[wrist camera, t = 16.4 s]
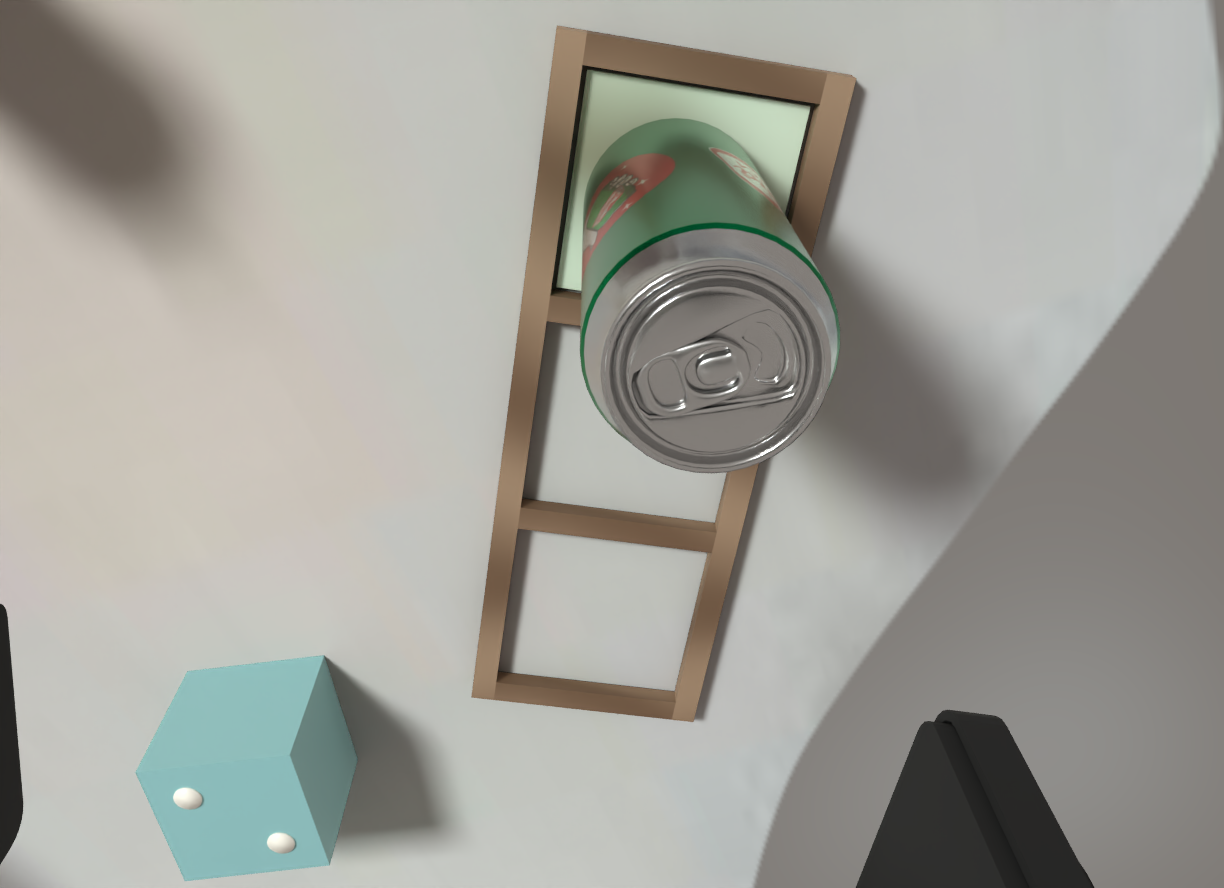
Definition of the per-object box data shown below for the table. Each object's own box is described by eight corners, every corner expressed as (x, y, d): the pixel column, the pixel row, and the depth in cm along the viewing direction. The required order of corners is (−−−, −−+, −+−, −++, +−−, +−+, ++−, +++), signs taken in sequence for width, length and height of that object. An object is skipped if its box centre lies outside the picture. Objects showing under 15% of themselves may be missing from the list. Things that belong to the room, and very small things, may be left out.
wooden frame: (691, 710, 39) (693, 721, 39) (472, 686, 38) (471, 697, 38) (851, 75, 29) (855, 78, 28) (557, 25, 28) (556, 27, 28)
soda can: (779, 258, 31) (878, 448, 20) (615, 311, 32) (628, 521, 21) (733, 88, 29) (818, 201, 18) (558, 148, 29) (540, 291, 19)
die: (358, 757, 40) (329, 866, 36) (229, 772, 40) (184, 882, 36) (324, 653, 38) (289, 756, 33) (188, 670, 38) (134, 774, 33)
